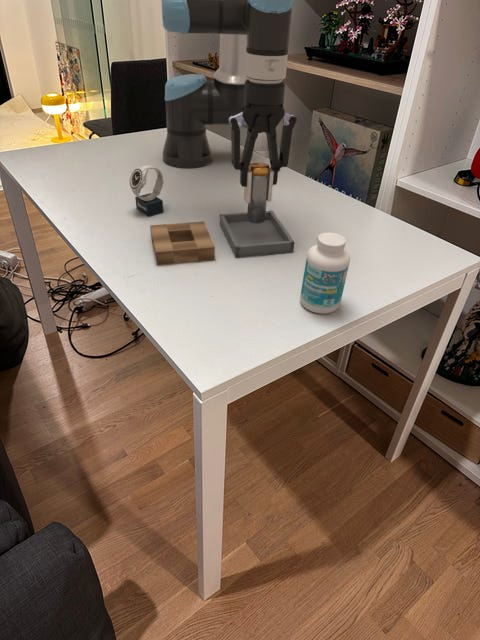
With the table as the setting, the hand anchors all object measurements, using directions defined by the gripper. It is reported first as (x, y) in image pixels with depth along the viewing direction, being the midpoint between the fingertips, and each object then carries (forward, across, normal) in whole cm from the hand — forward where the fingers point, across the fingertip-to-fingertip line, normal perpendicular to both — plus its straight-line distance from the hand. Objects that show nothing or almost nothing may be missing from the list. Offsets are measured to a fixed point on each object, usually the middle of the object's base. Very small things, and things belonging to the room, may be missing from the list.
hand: (257, 199), depth 99 cm
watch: (+9, -22, +18) cm, 30 cm away
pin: (+5, 0, 0) cm, 5 cm away
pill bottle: (+10, +5, -27) cm, 29 cm away
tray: (+9, 0, 0) cm, 9 cm away
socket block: (+9, -17, -2) cm, 19 cm away
